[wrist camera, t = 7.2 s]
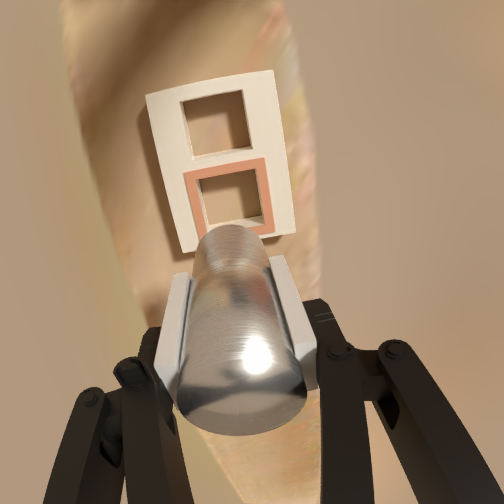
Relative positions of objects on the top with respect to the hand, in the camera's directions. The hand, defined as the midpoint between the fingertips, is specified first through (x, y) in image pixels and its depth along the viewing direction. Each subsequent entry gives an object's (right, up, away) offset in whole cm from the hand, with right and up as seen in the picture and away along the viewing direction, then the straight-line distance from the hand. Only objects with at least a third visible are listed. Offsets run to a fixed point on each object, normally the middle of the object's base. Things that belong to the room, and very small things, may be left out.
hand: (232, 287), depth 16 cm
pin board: (-2, +12, +18) cm, 22 cm away
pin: (0, +2, +3) cm, 3 cm away
